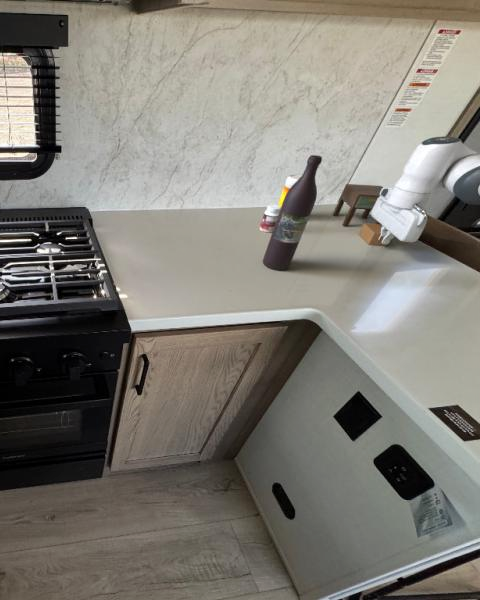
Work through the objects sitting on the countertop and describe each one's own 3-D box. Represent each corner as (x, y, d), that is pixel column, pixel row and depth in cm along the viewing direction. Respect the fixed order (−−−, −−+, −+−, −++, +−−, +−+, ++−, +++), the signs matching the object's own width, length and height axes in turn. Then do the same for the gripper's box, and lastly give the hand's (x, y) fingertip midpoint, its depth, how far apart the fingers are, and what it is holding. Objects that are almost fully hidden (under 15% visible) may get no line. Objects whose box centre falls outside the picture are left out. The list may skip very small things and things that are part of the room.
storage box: (386, 246, 109) (392, 234, 106) (368, 244, 110) (374, 233, 107) (374, 235, 115) (381, 224, 113) (358, 233, 116) (363, 222, 114)
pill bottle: (260, 225, 122) (267, 202, 117) (275, 228, 120) (283, 205, 115) (258, 230, 119) (265, 207, 114) (273, 233, 117) (281, 210, 112)
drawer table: (379, 230, 118) (397, 197, 112) (344, 227, 120) (359, 194, 114) (365, 216, 127) (381, 185, 121) (332, 214, 130) (346, 183, 123)
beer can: (285, 222, 124) (300, 180, 115) (270, 216, 128) (284, 175, 120) (295, 219, 126) (311, 177, 118) (280, 213, 131) (295, 173, 122)
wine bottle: (259, 266, 100) (297, 157, 82) (265, 256, 104) (302, 151, 87) (286, 273, 96) (331, 161, 79) (290, 263, 101) (334, 155, 83)
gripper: (443, 213, 90) (412, 259, 98) (402, 188, 106) (379, 229, 114) (415, 211, 91) (387, 257, 99) (379, 186, 107) (357, 227, 115)
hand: (382, 242), depth 107 cm, fingers closed
